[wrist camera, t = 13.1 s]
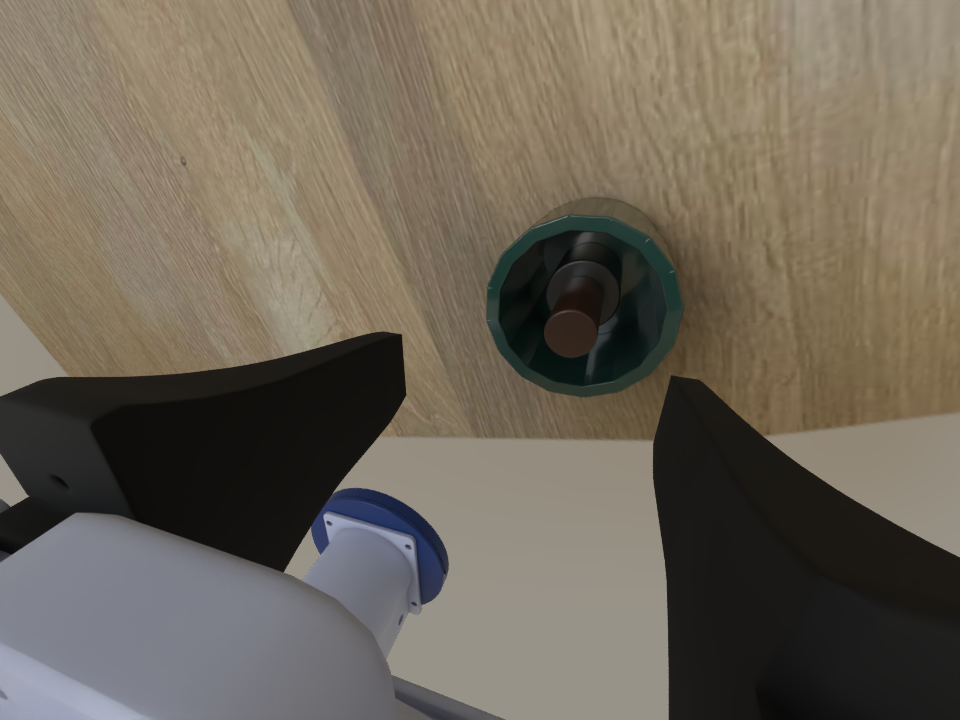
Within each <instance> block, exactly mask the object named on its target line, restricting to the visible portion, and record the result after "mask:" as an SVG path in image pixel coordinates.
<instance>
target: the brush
mask: <svg viewBox="0 0 960 720" xmlns="http://www.w3.org/2000/svg"><path fill="white" fill-rule="evenodd" d="M621 283H622V268H621V264H620V261H619V259H618V257H617V256H616V255H615V253H614V252H613V251H611V250H610V249H609V248H607V247H605V246H603V245H600V244H596V243H585V244H581V245H578V246H576V247H574V248H572V249H571V250H569V251H568V252H567V253H566V254H565V255H564V256H563V258H562V259H561V261H560V263H559V264H558V266H557V268H556V269H555V271H554V273H553V274H552V276H551V278H550V280H549V282H548V284H547V288H546V301H547V305H548V308H549V310H550V312H551V314H550V316H549V318H548V320H547V322H546V325H545V328H544V337H545V340H546V343H547V344H548V346H549V347H550V348H551V349H552V350H553V351H554V352H555V353H557V354H558V355H561V356H563V357H569V358H574V357H579V356H582V355H584V354H586V353H588V352H589V351H590V350H591V349H592V348H593V347H594V345H595V343H596V340H597V335H598V329H599V326H601V325H603V324H604V323H606V322H607V321H608V320H609V319H610V318H611V317H612V316H613V315H614V314H615V312H616V310H617V309H618V306H619V303H620V298H621Z"/></svg>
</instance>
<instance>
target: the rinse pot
mask: <svg viewBox="0 0 960 720" xmlns="http://www.w3.org/2000/svg"><path fill="white" fill-rule="evenodd" d="M585 243H596V244H600V245H603V246H605V247H607V248H609V249H610V250H611V251H613V252H614V253H615V255H616V256H617V257H618V259H619V261H620V264H621V268H622V283H621V298H620V303H619V306H618V309H617V310H616V312H615V314H614V315H613V316H612V317H611V318H610V319H609V320H608V321H607V322H606V323H604V324H603V325H601V326H599V329H598V335H597V340H596V343H595V345H594V347H593V348H592V349H591V350H590V351H589V352H588V353H586V354H584V355H582V356H579V357H574V358H569V357H563V356H561V355H558V354H557V353H555V352H554V351H553V350H552V349H551V348H550V347H549V346H548V344H547V343H546V340H545V337H544V328H545V325H546V322H547V320H548V318H549V316H550V314H551V312H550V310H549V308H548V305H547V301H546V288H547V284H548V282H549V280H550V278H551V276H552V274H553V273H554V271H555V269H556V268H557V266H558V264H559V263H560V261H561V259H562V258H563V256H564V255H565V254H566V253H567V252H568V251H569V250H571V249H572V248H574V247H576V246H578V245H581V244H585ZM683 307H684V305H683V300H682V295H681V291H680V286H679V281H678V276H677V271H676V268H675V266H674V263H673V260H672V258H671V255H670V252H669V250H668V247H667V245H666V242H665V240H664V238H663V237H662V235H661V234H660V232H659V231H658V229H657V228H656V226H655V225H654V224H653V223H652V222H651V220H650V219H649V218H648V217H647V216H646V215H645V214H644V213H642V212H641V211H639V210H638V209H636V208H634V207H633V206H631V205H629V204H627V203H624V202H622V201H618V200H615V199H611V198H602V197H590V198H583V199H578V200H575V201H571V202H568V203H566V204H564V205H562V206H560V207H557V208H555V209H553V210H551V211H550V212H549V213H548V214H546V215H545V216H544V217H543V218H541V219H540V220H539V221H538V222H537V223H535V224H534V225H533V226H532V227H531V228H529V229H528V230H527V231H526V232H525V233H524V234H523V235H522V236H520V237H519V238H518V239H517V240H516V241H515V242H514V243H513V244H512V245H511V246H510V247H508V248H507V249H506V250H505V251H504V252H503V254H502V255H501V257H500V259H499V261H498V263H497V265H496V268H495V270H494V272H493V274H492V276H491V279H490V281H489V283H488V287H487V315H486V319H487V323H488V325H489V328H490V331H491V333H492V336H493V339H494V341H495V344H496V346H497V349H498V350H499V352H500V353H501V355H502V356H503V357H504V358H505V359H506V360H507V361H508V362H509V364H510V365H511V366H512V367H513V368H514V369H515V370H516V371H517V373H518V374H519V375H521V376H522V377H524V378H525V379H527V380H529V381H531V382H533V383H534V384H536V385H538V386H540V387H542V388H544V389H545V390H547V391H550V392H554V393H560V394H566V395H571V396H577V397H591V396H597V395H604V394H610V393H616V392H619V391H622V390H624V389H625V388H627V387H629V386H631V385H633V384H634V383H636V382H638V381H640V380H641V379H643V378H645V377H647V376H649V375H650V373H652V372H653V371H654V370H655V369H656V367H657V366H658V365H659V364H660V362H661V361H662V360H663V359H664V357H665V356H666V355H667V354H668V352H669V351H670V350H671V349H672V347H673V346H674V344H675V341H676V337H677V334H678V330H679V326H680V322H681V318H682V314H683V310H684V309H683Z"/></svg>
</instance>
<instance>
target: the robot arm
mask: <svg viewBox="0 0 960 720" xmlns="http://www.w3.org/2000/svg"><path fill="white" fill-rule="evenodd" d="M405 397H406V385H405V372H404V359H403V345H402V334H396V333H389V332H375V333H370V334H366V335H362V336H358V337H354V338H351V339H347V340H344V341H340V342H337V343H333V344H330V345H327V346H323V347H320V348H316V349H312V350H309V351H305V352H301V353H297V354H293V355H290V356H286V357H282V358H278V359H274V360H269V361H264V362H259V363H254V364H249V365H243V366H238V367H231V368H224V369H216V370H208V371H200V372H192V373H182V374H170V375H155V376H135V377H56V378H50V379H44V380H41V381H37V382H35V383H32V384H30V385H28V386H25V387H23V388H20V389H18V390H15V391H13V392H10V393H8V394H6V395H3V396H1V397H0V454H1V455H2V457H3V458H4V460H5V461H6V463H7V464H8V466H9V467H10V469H11V471H12V472H13V474H14V475H15V477H16V478H17V480H18V481H19V483H20V484H21V486H22V487H23V489H24V490H25V492H26V493H27V495H29V497H28V498H26V499H24V500H23V501H21V502H19V503H17V504H16V505H14V506H12V507H10V506H9V505H8V504H7V503H5V502H4V501H3V500H2V499H0V720H505V719H502V718H500V717H497V716H494V715H492V714H489V713H487V712H484V711H482V710H479V709H477V708H474V707H472V706H469V705H467V704H464V703H462V702H459V701H456V700H454V699H451V698H449V697H446V696H444V695H441V694H439V693H436V692H434V691H431V690H428V689H426V688H424V687H421V686H418V685H416V684H413V683H411V682H408V681H406V680H403V679H401V678H398V677H396V676H393V675H391V672H390V669H389V665H388V663H387V661H386V659H387V657H388V654H389V653H390V651H391V648H392V646H393V644H394V642H395V640H396V638H397V636H398V634H399V632H400V629H401V627H402V625H403V623H404V621H405V619H406V617H407V615H408V613H409V612H410V613H413V614H417V615H418V614H420V612H421V610H422V607H421V595H420V583H419V571H418V559H417V547H416V539H415V538H414V536H412V535H410V534H407V533H403V532H400V531H397V530H393V529H390V528H386V527H383V526H379V525H376V524H373V523H369V522H366V521H362V520H359V519H355V518H352V517H348V516H345V515H342V514H338V513H335V512H331V511H327V512H326V513H325V514H324V521H325V526H326V530H327V535H328V539H329V545H328V546H327V547H326V549H325V550H324V551H323V553H322V554H321V555H320V557H319V558H318V559H317V560H316V562H315V563H314V565H313V566H312V567H311V569H310V570H309V571H308V573H307V574H306V575H305V576H304V578H303V579H302V580H299V579H297V578H296V577H294V576H292V575H289V574H286V573H283V572H284V571H285V569H286V567H287V565H288V564H289V562H290V560H291V558H292V557H293V555H294V553H295V551H296V550H297V548H298V547H299V545H300V543H301V541H302V540H303V538H304V537H305V535H306V534H307V532H308V530H309V529H310V527H311V526H312V524H313V522H314V521H315V519H316V517H317V516H318V514H319V513H320V511H321V510H322V508H323V507H324V505H325V504H326V502H327V501H328V499H329V498H330V496H331V495H332V493H333V492H334V490H335V489H336V488H337V486H338V485H339V484H340V482H341V481H342V480H343V479H344V477H345V476H346V475H347V474H348V472H349V471H350V470H351V469H352V468H353V466H354V465H355V464H356V463H357V462H358V460H359V459H360V458H361V457H362V456H363V455H364V453H365V452H366V451H367V450H368V448H369V447H370V446H371V445H372V444H373V443H374V441H375V440H376V439H377V438H378V437H379V435H380V434H381V433H382V432H383V430H384V429H385V428H386V427H387V426H388V424H389V423H390V422H391V420H392V419H393V417H394V415H395V414H396V412H397V411H398V409H399V407H400V405H401V404H402V402H403V400H404V398H405ZM653 480H654V488H655V495H656V503H657V510H658V517H659V524H660V531H661V538H662V545H663V551H664V559H665V568H666V579H667V608H668V656H669V720H960V557H957V556H956V555H953V554H952V553H950V552H948V551H946V550H944V549H942V548H940V547H938V546H936V545H934V544H932V543H930V542H928V541H926V540H924V539H922V538H920V537H919V536H917V535H915V534H913V533H911V532H909V531H907V530H905V529H903V528H902V527H900V526H898V525H896V524H894V523H892V522H891V521H889V520H887V519H886V518H884V517H882V516H880V515H879V514H877V513H875V512H873V511H872V510H870V509H868V508H867V507H865V506H863V505H861V504H860V503H858V502H856V501H854V500H853V499H851V498H850V497H848V496H846V495H844V494H843V493H842V492H840V491H838V490H837V489H835V488H833V487H832V486H830V485H829V484H827V483H826V482H824V481H823V480H822V479H820V478H819V477H817V476H816V475H814V474H813V473H811V472H809V471H808V470H807V469H805V468H804V467H802V466H801V465H799V464H798V463H797V462H795V461H794V460H793V459H791V458H790V457H788V456H787V455H786V454H785V453H783V452H782V451H781V450H779V449H778V448H777V447H776V446H774V445H773V444H772V443H771V442H769V441H768V440H767V439H766V438H764V437H763V436H762V435H761V434H759V433H758V432H757V431H756V430H755V429H754V428H752V427H751V426H750V425H749V424H748V423H747V422H745V421H744V420H743V419H742V418H741V417H740V416H739V415H738V414H737V413H735V412H734V411H733V410H732V409H731V408H730V407H729V406H728V405H727V404H726V403H725V402H724V401H722V400H721V399H720V398H719V397H718V396H717V395H716V394H715V393H714V392H713V391H712V390H711V389H709V388H708V387H707V386H706V385H705V384H704V383H703V382H701V381H700V380H697V379H690V378H684V377H677V376H671V378H670V382H669V386H668V390H667V394H666V397H665V401H664V405H663V409H662V413H661V416H660V420H659V424H658V428H657V431H656V435H655V439H654V443H653Z"/></svg>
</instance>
